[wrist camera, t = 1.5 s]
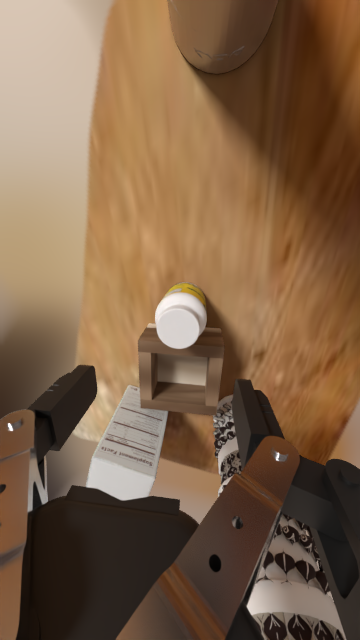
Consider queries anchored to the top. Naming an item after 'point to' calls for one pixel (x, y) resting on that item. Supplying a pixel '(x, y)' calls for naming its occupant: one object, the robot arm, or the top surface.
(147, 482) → the supplement box
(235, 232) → the top surface
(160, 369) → the socket block
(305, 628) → the decorative candle
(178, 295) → the supplement bottle
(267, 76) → the top surface
